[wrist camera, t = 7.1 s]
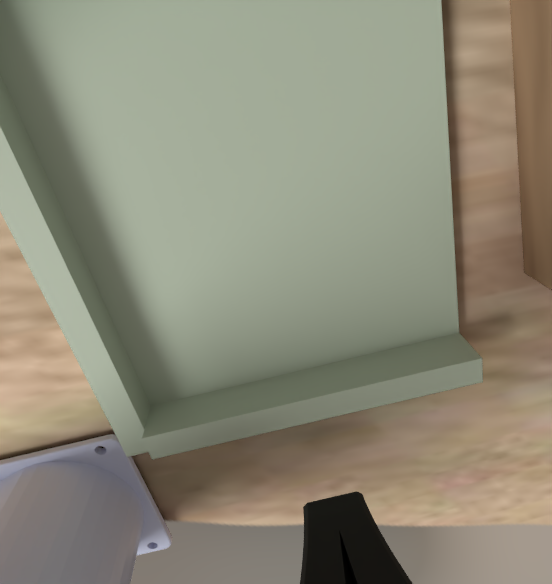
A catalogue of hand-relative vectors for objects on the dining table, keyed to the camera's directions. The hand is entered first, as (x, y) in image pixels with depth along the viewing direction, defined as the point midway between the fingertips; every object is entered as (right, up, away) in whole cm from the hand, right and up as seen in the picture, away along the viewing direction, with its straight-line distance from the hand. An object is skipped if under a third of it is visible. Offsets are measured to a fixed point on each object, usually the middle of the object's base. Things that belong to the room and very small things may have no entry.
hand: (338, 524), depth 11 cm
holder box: (-2, +9, +6) cm, 11 cm away
